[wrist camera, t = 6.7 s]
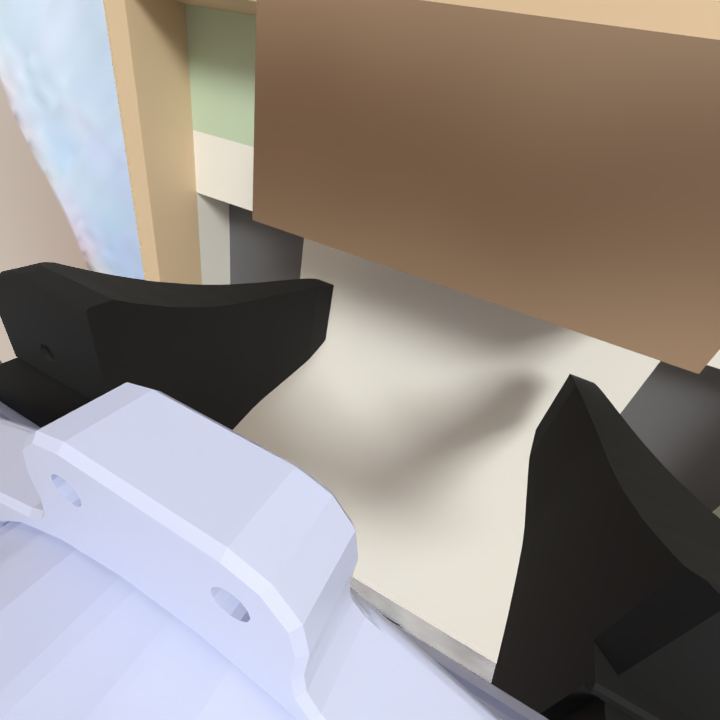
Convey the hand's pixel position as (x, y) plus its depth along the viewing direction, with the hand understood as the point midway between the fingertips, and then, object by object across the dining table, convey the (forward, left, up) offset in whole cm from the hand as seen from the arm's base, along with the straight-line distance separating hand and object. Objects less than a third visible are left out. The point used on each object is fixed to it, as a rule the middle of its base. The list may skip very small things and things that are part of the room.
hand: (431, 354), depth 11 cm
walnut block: (+5, 0, -1) cm, 5 cm away
